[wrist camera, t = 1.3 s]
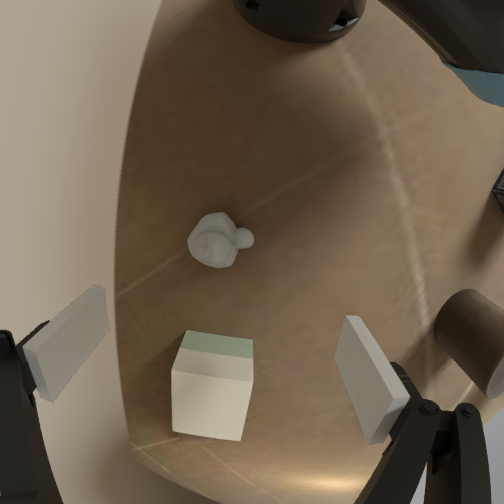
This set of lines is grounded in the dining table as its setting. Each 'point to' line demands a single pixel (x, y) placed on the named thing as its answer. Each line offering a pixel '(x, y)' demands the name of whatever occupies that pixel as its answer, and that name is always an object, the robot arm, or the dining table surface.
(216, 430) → the cream and green box
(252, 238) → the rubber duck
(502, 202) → the small box
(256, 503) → the dining table surface
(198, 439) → the brick
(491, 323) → the pillar candle
